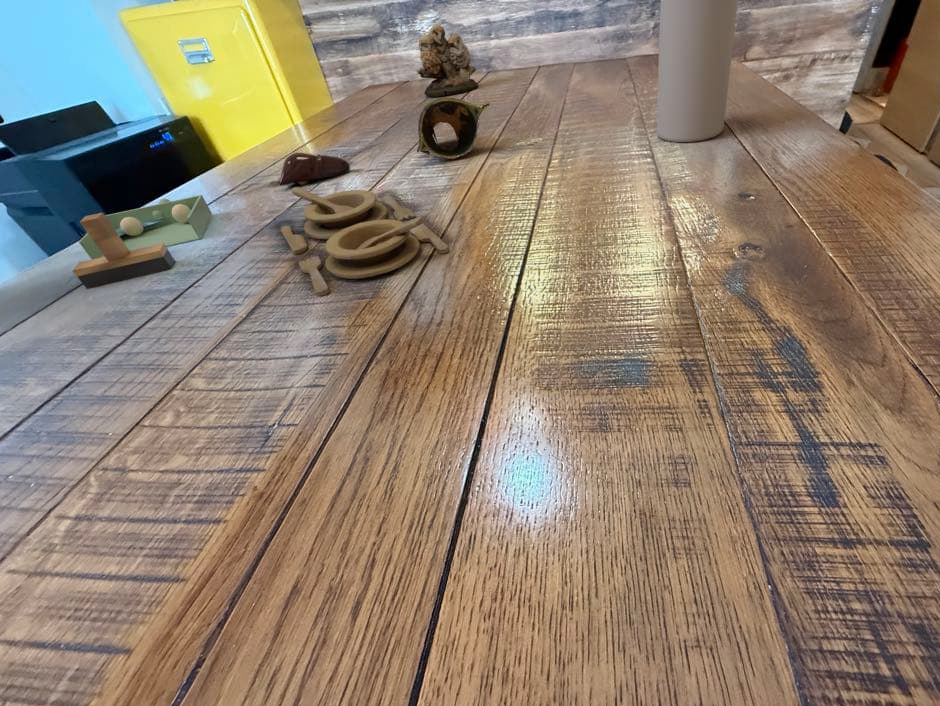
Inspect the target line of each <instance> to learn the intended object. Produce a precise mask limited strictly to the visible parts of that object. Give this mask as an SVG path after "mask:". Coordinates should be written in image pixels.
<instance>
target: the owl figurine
mask: <svg viewBox="0 0 940 706" xmlns="http://www.w3.org/2000/svg"><path fill="white" fill-rule="evenodd" d="M418 49H419V53H420V55H419V60H420V61H421V65H422V67H420V68H419V69H416V72H417V74H419V76H420V78H421V79H434V80H432V81H431V82H430V83H429V85H428V86H426V89H425V90H424V95H425V96H426V97H428V98H441V97H446V95H447V96H448V97H450V96H454V95H459V94H460V95H461V94H464V93H468V92H471V91H473V90H476V89H478V87H479V85H478V82H476V80H475V79H473V78H471V76H472V75H473V73H475V72H476V71H477V67H476V66H475V65H470V64H471V59H472V57H471V54H470V52H469V48H468V46H467V44H464V41H463V39H462V37H461V36H460V35H459V34H457V33H456V34H452V35H450V36H449V37H448V39H447V38H446V31H445V28H444V26H442V25H441V24H434V25H432V27H430V29H429V33H428V34H423V35H421V37H420V38H419V39H418Z"/></svg>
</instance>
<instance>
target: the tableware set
mask: <svg viewBox="0 0 940 706" xmlns="http://www.w3.org/2000/svg"><path fill="white" fill-rule="evenodd" d="M291 193H292V194H293V196H295V197H298V198H300V199H303V200H305V201H308V202H310V203H309V204H308V205H307V206H306V207H305V208H304V210H303V216H304V218H305V219H307V221H306V222H305V224H304V226H303V230H304V232H305V234H306V235H307V236H308V237H310V238H313V239H318V240H326V242H325V244H324V245H325V246H324V248H325V251H326V253H327V254H328V257H327V258H326V259H325V263H324V264H325V265H324V266H325V269H326V271H327V272H328V273H329V274H331V275H332V276H334V277H337V278H340V279H348V280H352V279H353V280H355V279H356V280H357V279H364V278H371V277H375V276H379V275H383V274H386V273H389V272H391V271H394V270H396V269H398V268H401V267H403V266H404V265H405V264H407V263H408V262H410V261H411V260H412V259H414V257H416V255H417V254H418V253H419V250H420V242H421V243H431V245H432V246H433V247H434V248H435V250H436V251H437V252H438V253H439V254H440V255H441V254H443V255H444V254H447V253H448V252H449V251H450V248H449V245H448V244H447V243H446V242H444V241H443V239H441V238H440V237H439V236H438V235H437V234H436V233H434V232H433V231H432V230H431V229H430V228H428V226H427V225H425V224H424V223H425V221H426V220H425V219H426V218H424V216H423V215H420V216H416V214H415V213H414V212H413V210H411V208H406V207H402V206H401V205H400V204H399V203H398V202H397V200H396V199H395V198H394V197H393V195H384V196H383V197H381V201H382V203H380V202H377V200H378V198H377V195H376V194H375V193H374V192H373V191H370V190H364V189H351V190H343V191H338V192H334V193H331V194H327V195H325V196H322V197H320V195H319V196H318V195H316V194H315V193H313V192H310V191H308V190H307V189H305V188H302V187H299V186H295V187H292V188H291ZM386 206H387V207H388V208H390V209H391V210H392V211H393V214H392V215H393V217H394V219H386V218H387V216H388V209H387V207H386ZM410 219H411V220H410ZM404 220H405V221H407V222H404ZM408 220H409V221H408ZM280 231H281V234H282V235H283V237H284V239H285V240H286V242H287V244H288V245H289V247H290V249H291V251H292V253H293V255H294V256H296V255H299V254H302V253H304V252H306V251H307V249H308V243H307V241H306V239H305V238H304V236H303V235H302V234H299V233H298V234H294V233H293V230H292V227H291V226H290V225H283V226H281V227H280ZM298 265H299V268H300V270H301V272H302V273H304V274H309V275H310V276H309V277H310V280H311V283H312V286H313V289H314V291H315V294H316V295H317V297H322V296H326V295H328V294H329V293H330V288H329V286H328V283H326V280H325V279H324V277H323V276H322V274H321V272H320V270H321V268H322V267H323V263H322V261H321V259H320V257H319V255H316V256H313V257H312V258H309V257H308V258H306V260H303V259H302V260H299V261H298Z"/></svg>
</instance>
